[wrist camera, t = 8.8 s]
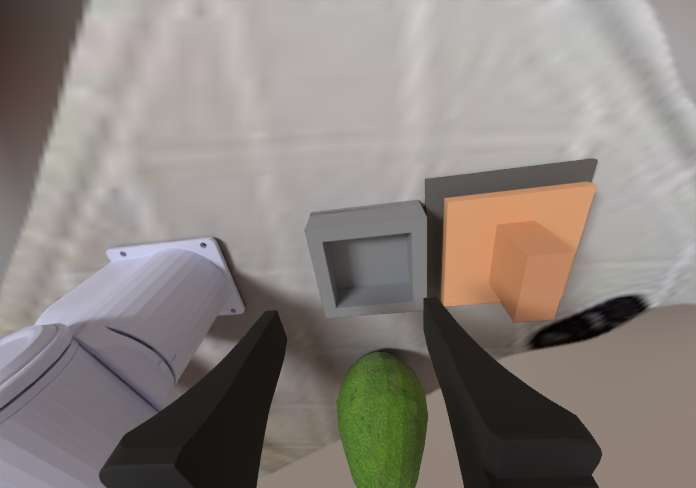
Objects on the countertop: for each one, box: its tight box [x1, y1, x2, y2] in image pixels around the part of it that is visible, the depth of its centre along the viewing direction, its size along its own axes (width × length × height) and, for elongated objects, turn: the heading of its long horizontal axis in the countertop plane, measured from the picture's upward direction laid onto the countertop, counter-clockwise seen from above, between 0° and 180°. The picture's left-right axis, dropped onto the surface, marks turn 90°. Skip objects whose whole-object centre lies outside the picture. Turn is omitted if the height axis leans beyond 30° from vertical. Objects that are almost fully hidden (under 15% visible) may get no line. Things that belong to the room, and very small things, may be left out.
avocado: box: [337, 352, 428, 488], centre depth 24 cm, size 8×8×12 cm
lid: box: [441, 181, 597, 322], centre depth 19 cm, size 9×9×6 cm
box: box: [305, 200, 427, 318], centre depth 22 cm, size 8×8×3 cm
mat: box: [425, 158, 598, 301], centre depth 22 cm, size 11×11×1 cm
